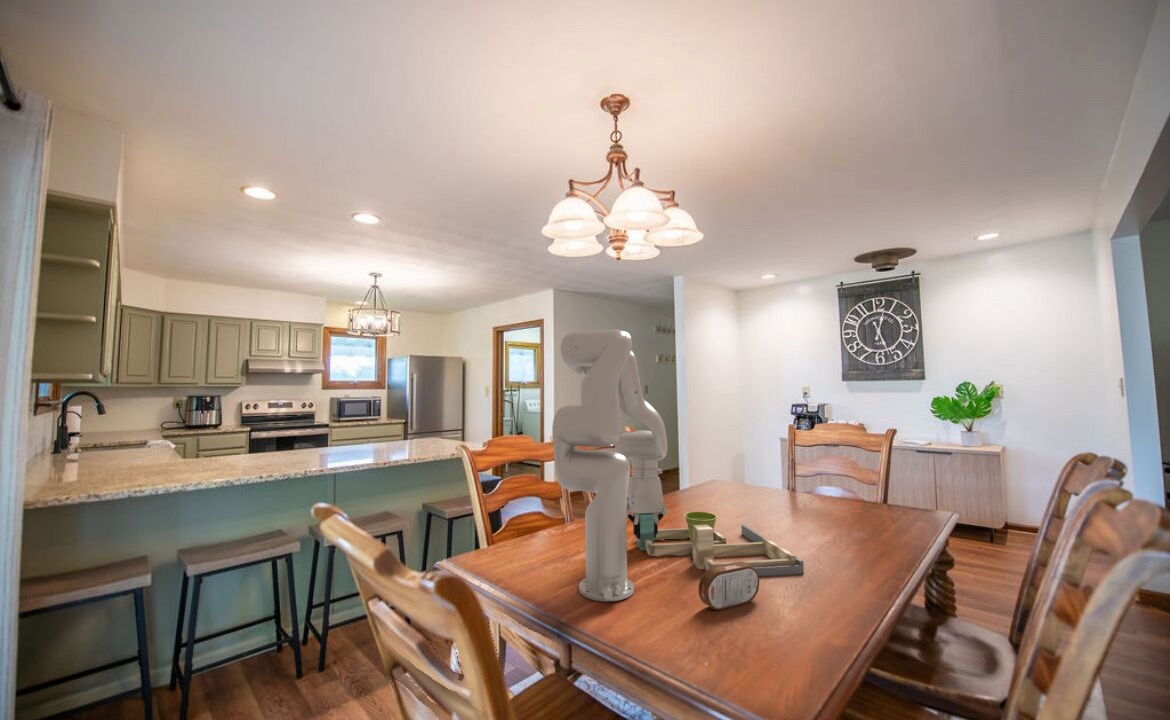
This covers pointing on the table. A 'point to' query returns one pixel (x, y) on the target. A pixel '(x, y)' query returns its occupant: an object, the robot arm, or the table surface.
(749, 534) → the rack
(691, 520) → the plant pot
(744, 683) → the table surface
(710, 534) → the frame
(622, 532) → the robot arm
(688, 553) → the pot
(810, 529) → the table surface
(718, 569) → the tin
